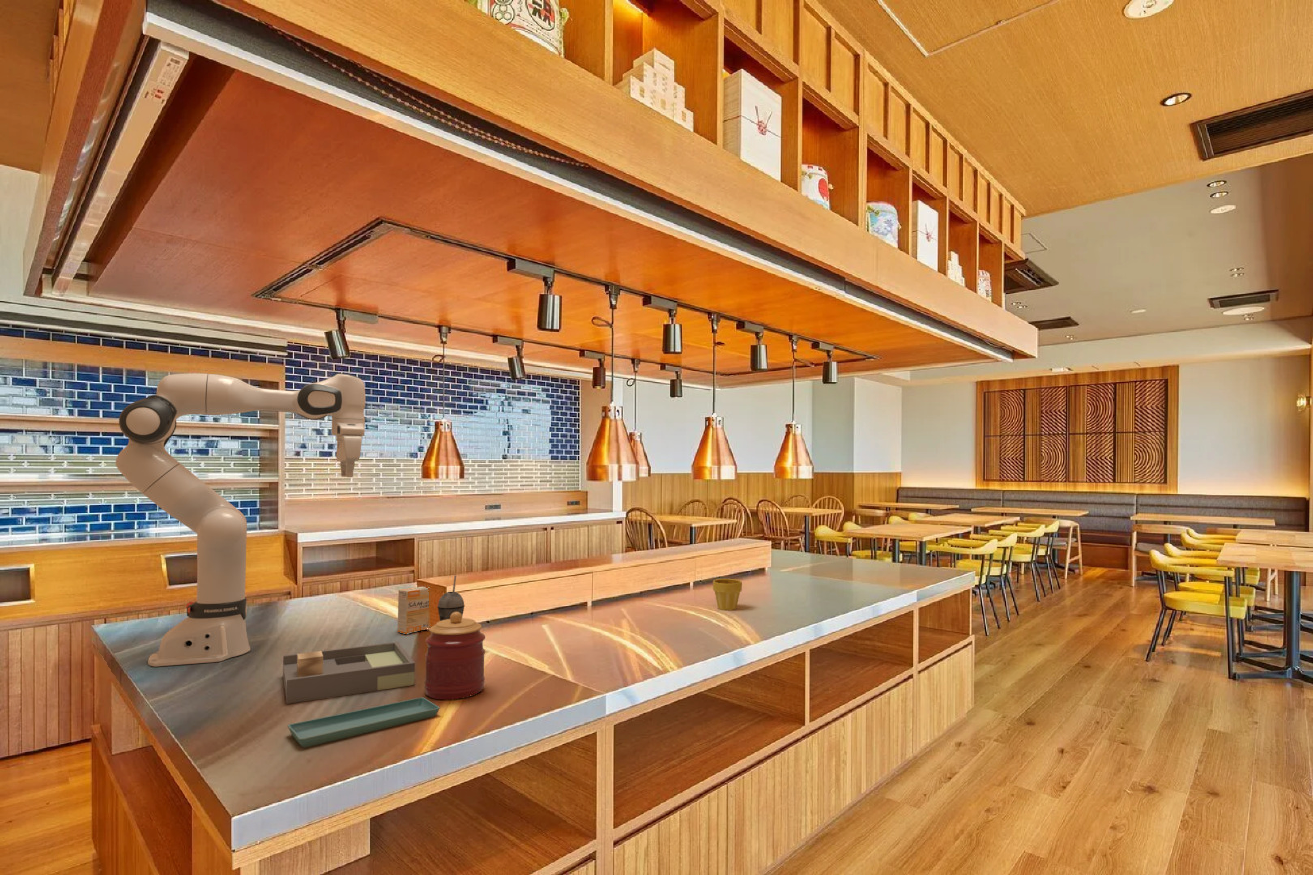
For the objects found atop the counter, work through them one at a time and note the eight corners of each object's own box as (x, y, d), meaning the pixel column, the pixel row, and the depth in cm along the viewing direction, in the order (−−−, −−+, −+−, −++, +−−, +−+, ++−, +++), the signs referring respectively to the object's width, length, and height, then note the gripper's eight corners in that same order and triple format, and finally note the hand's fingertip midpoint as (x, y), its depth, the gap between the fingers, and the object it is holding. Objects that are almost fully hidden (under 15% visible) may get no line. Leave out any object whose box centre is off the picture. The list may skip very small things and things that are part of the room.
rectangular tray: (422, 706, 146) (423, 694, 146) (440, 718, 139) (441, 705, 139) (286, 737, 129) (286, 724, 129) (299, 753, 122) (299, 739, 122)
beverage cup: (431, 648, 190) (432, 575, 191) (455, 643, 195) (456, 572, 196) (445, 653, 185) (446, 578, 186) (469, 648, 191) (470, 575, 191)
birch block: (298, 677, 154) (298, 659, 154) (296, 671, 159) (297, 653, 159) (322, 674, 157) (323, 656, 157) (320, 668, 161) (321, 651, 161)
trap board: (286, 704, 146) (287, 680, 146) (282, 676, 164) (283, 655, 165) (414, 684, 159) (414, 662, 159) (397, 661, 178) (397, 641, 178)
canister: (427, 704, 146) (428, 620, 147) (421, 686, 158) (423, 608, 158) (489, 696, 151) (490, 615, 152) (479, 679, 163) (480, 604, 164)
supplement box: (406, 635, 205) (406, 591, 205) (396, 633, 208) (397, 589, 208) (430, 630, 211) (430, 587, 212) (420, 628, 214) (421, 585, 215)
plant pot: (743, 611, 240) (743, 583, 241) (713, 611, 240) (713, 583, 241) (740, 605, 251) (740, 578, 251) (711, 605, 251) (711, 578, 251)
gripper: (331, 430, 208) (330, 476, 208) (341, 427, 191) (339, 477, 190) (354, 431, 212) (353, 476, 211) (365, 428, 194) (364, 477, 194)
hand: (346, 477), depth 201 cm, fingers open, 8 cm apart
